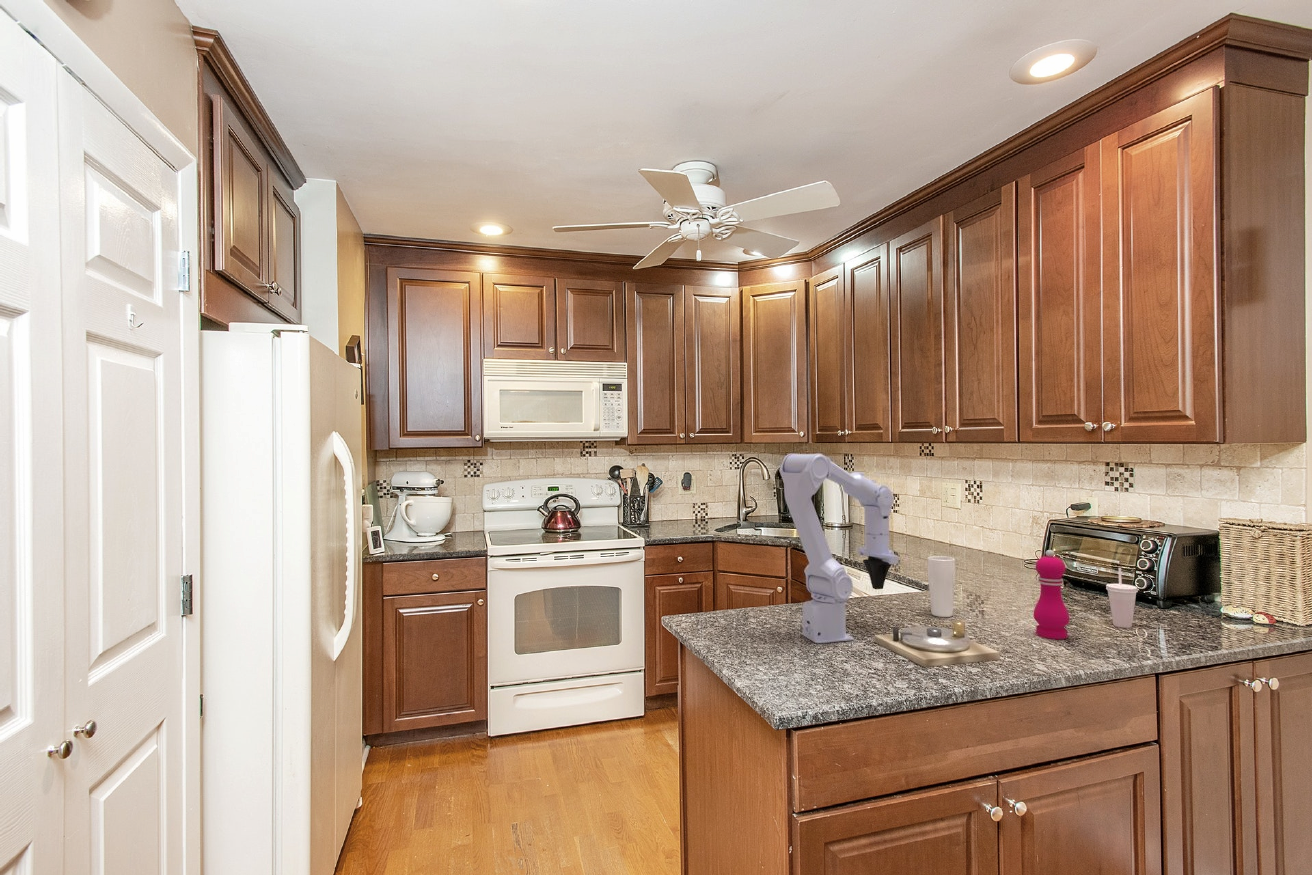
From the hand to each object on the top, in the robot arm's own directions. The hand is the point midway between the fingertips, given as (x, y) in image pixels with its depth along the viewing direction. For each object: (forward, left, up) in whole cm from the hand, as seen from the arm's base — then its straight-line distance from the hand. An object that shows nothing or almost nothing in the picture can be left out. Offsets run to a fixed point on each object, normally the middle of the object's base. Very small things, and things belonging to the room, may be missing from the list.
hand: (877, 588), depth 164 cm
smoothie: (+57, -16, -10) cm, 60 cm away
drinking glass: (+22, +5, -10) cm, 25 cm away
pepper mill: (+34, -18, -10) cm, 40 cm away
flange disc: (+1, -20, -8) cm, 21 cm away
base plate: (+1, -20, -9) cm, 22 cm away
